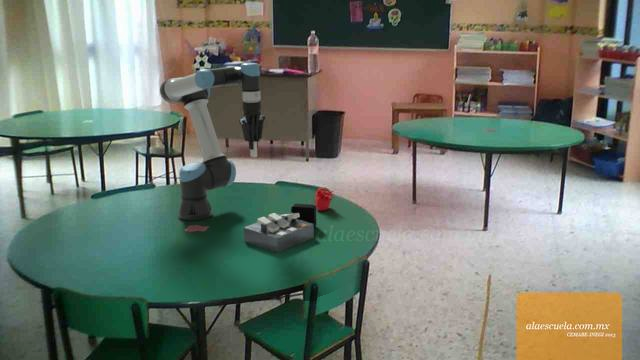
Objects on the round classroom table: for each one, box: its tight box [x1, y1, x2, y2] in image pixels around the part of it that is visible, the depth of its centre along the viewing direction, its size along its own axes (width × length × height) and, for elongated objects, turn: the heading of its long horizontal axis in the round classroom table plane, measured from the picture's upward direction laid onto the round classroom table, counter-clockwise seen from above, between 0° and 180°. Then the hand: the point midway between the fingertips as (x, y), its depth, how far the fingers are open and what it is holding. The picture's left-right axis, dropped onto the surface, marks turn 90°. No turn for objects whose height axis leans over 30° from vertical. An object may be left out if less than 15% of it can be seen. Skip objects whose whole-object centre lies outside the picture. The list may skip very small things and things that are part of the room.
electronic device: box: [290, 203, 317, 230], centre depth 267 cm, size 4×10×10 cm, turn 78°
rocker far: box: [280, 213, 300, 219], centre depth 258 cm, size 9×3×2 cm, turn 48°
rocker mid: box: [267, 212, 290, 228], centre depth 254 cm, size 9×3×2 cm, turn 49°
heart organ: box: [314, 186, 335, 212], centre depth 291 cm, size 10×12×12 cm
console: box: [243, 212, 315, 254], centre depth 255 cm, size 19×21×9 cm
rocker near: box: [256, 216, 279, 233], centre depth 249 cm, size 9×3×2 cm, turn 49°
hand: (253, 156), depth 265 cm, fingers closed
